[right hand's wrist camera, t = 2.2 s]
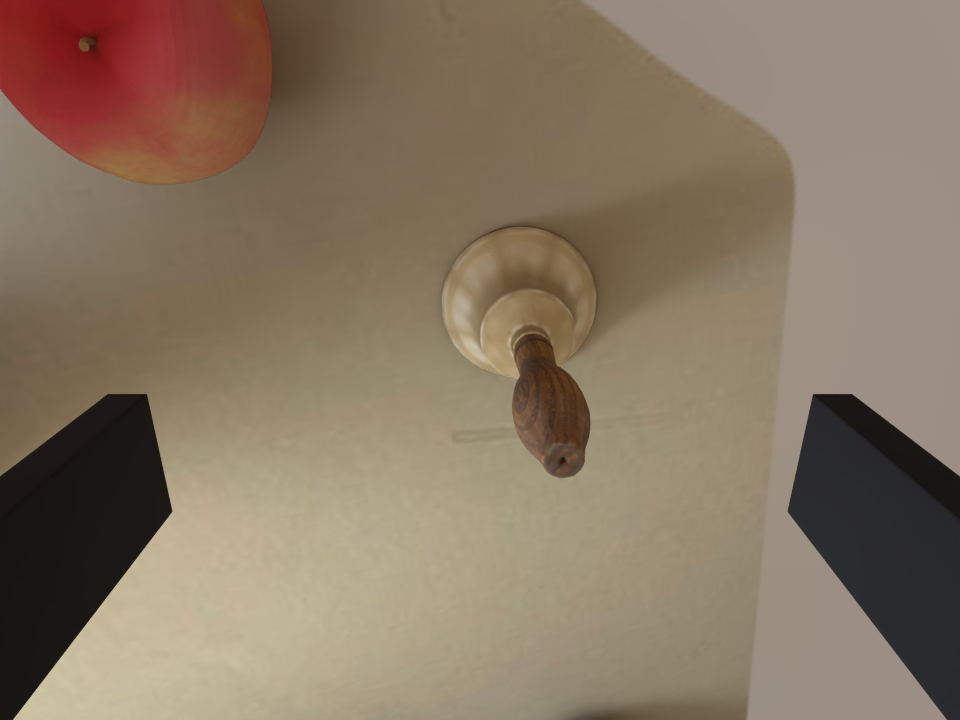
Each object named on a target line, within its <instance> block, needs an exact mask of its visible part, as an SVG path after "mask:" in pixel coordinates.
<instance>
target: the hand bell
mask: <svg viewBox="0 0 960 720" xmlns="http://www.w3.org/2000/svg"><path fill="white" fill-rule="evenodd" d="M596 306H597V293H596V287H595V282H594V278H593V275H592V272H591V270H590V268H589V266H588V264H587V262H586V261H585V259H584V258H583V257H582V255H581V254H580V253H579V252H578V251H577V250H576V249H575V248H574V247H573V246H572V245H571V244H570V243H569V242H567V241H566V240H564V239H563V238H561V237H559V236H557V235H555V234H553V233H551V232H548V231H546V230H542V229H538V228H532V227H510V228H504V229H501V230H497V231H494V232H491V233H489V234H487V235H485V236H483V237H481V238H479V239H478V240H476V241H475V242H473V243H472V244H471V245H469V246H468V247H467V248H466V249H465V250H464V251H463V252H462V253H461V254H460V255H459V256H458V258H457V259H456V261H455V262H454V264H453V265H452V267H451V269H450V271H449V273H448V275H447V278H446V280H445V283H444V287H443V292H442V304H441V307H442V316H443V321H444V325H445V328H446V330H447V333H448V335H449V337H450V339H451V341H452V342H453V344H454V345H455V347H456V348H457V349H458V350H459V352H460V353H461V354H462V355H463V356H464V357H465V358H466V359H468V360H469V361H470V362H472V363H473V364H474V365H476V366H478V367H479V368H481V369H483V370H485V371H488V372H490V373H494V374H497V375H502V376H508V377H511V378H515V379H518V381H517V383H516V386H515V389H514V394H513V403H512V412H513V419H514V424H515V427H516V431H517V433H518V435H519V437H520V439H521V441H522V443H523V444H524V446H525V447H526V448H527V450H528V451H529V452H530V453H531V454H532V455H533V456H534V457H535V458H536V459H538V460H539V461H540V462H541V464H542V465H543V467H544V469H545V470H546V471H547V472H548V473H549V474H551V475H552V476H554V477H557V478H566V477H571V476H574V475H575V474H577V473H578V472H579V471H580V470H581V469H582V467H583V465H584V462H585V448H586V445H587V442H588V438H589V433H590V413H589V409H588V406H587V403H586V400H585V398H584V395H583V393H582V391H581V390H580V388H579V386H578V385H577V383H576V382H575V380H574V379H573V378H572V377H571V376H570V375H569V374H568V373H567V372H566V371H565V370H563V369H562V368H560V367H561V366H562V365H563V364H564V362H565V361H566V360H567V359H569V358H570V357H571V356H572V355H573V354H574V353H575V352H576V351H577V350H578V349H579V347H580V346H581V345H582V344H583V342H584V341H585V339H586V337H587V336H588V334H589V332H590V330H591V327H592V324H593V321H594V318H595V314H596Z"/></svg>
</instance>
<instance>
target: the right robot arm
mask: <svg viewBox="0 0 960 720" xmlns="http://www.w3.org/2000/svg"><path fill="white" fill-rule="evenodd" d="M171 513H172V507H171V503H170V498H169V494H168V489H167V484H166V480H165V475H164V471H163V466H162V461H161V457H160V452H159V448H158V443H157V438H156V434H155V429H154V425H153V420H152V416H151V411H150V406H149V402H148V397H147V394H108V395H106V396H105V397H104V398H102V399H101V400H100V401H98V402H97V403H96V404H94V405H93V406H92V407H91V408H89V409H88V410H87V411H85V412H84V413H83V414H81V415H80V416H79V417H77V418H76V419H75V420H74V421H72V422H71V423H70V424H68V425H67V426H66V427H64V428H63V429H62V430H60V431H59V432H58V433H57V434H55V435H54V436H53V437H51V438H50V439H49V440H47V441H46V442H45V443H43V444H42V445H41V446H39V447H38V448H37V449H36V450H34V451H33V452H32V453H30V454H29V455H28V456H26V457H25V458H24V459H22V460H21V461H20V462H19V463H17V464H16V465H15V466H13V467H12V468H11V469H9V470H8V471H7V472H5V473H4V474H3V475H2V476H0V720H13V719H14V718H15V716H16V715H17V714H18V712H19V711H20V710H21V709H22V707H23V706H24V705H25V703H26V702H27V701H28V699H29V698H30V697H31V695H32V694H33V693H34V692H35V690H36V689H37V688H38V686H39V685H40V684H41V682H42V681H43V680H44V679H45V677H46V676H47V675H48V673H49V672H50V671H51V669H52V668H53V667H54V665H55V664H56V663H57V662H58V660H59V659H60V658H61V656H62V655H63V654H64V652H65V651H66V650H67V649H68V647H69V646H70V645H71V643H72V642H73V641H74V639H75V638H76V637H77V635H78V634H79V633H80V632H81V630H82V629H83V628H84V626H85V625H86V624H87V622H88V621H89V620H90V618H91V617H92V616H93V615H94V613H95V612H96V611H97V609H98V608H99V607H100V605H101V604H102V603H103V602H104V600H105V599H106V598H107V596H108V595H109V594H110V592H111V591H112V590H113V588H114V587H115V586H116V585H117V583H118V582H119V581H120V579H121V578H122V577H123V575H124V574H125V573H126V571H127V570H128V569H129V568H130V566H131V565H132V564H133V562H134V561H135V560H136V558H137V557H138V556H139V555H140V553H141V552H142V551H143V549H144V548H145V547H146V545H147V544H148V543H149V541H150V540H151V539H152V538H153V536H154V535H155V534H156V532H157V531H158V530H159V528H160V527H161V526H162V524H163V523H164V522H165V521H166V519H167V518H168V517H169V515H170V514H171ZM788 513H789V514H790V515H791V517H792V518H793V519H794V521H795V522H796V523H797V524H798V526H799V527H800V528H801V530H802V531H803V532H804V534H805V535H806V536H807V538H808V539H809V540H810V541H811V543H812V544H813V545H814V547H815V548H816V549H817V551H818V552H819V553H820V554H821V556H822V557H823V558H824V560H825V561H826V562H827V564H828V565H829V566H830V568H831V569H832V570H833V571H834V573H835V574H836V575H837V577H838V578H839V579H840V581H841V582H842V583H843V585H844V586H845V587H846V588H847V590H848V591H849V592H850V594H851V595H852V596H853V598H854V599H855V600H856V602H857V603H858V604H859V605H860V607H861V608H862V609H863V611H864V612H865V613H866V615H867V616H868V617H869V618H870V620H871V621H872V622H873V624H874V625H875V626H876V628H877V629H878V630H879V632H880V633H881V634H882V635H883V637H884V638H885V639H886V641H887V642H888V643H889V645H890V646H891V647H892V648H893V650H894V651H895V652H896V654H897V655H898V656H899V658H900V659H901V660H902V662H903V663H904V664H905V665H906V667H907V668H908V669H909V671H910V672H911V673H912V675H913V676H914V677H915V679H916V680H917V681H918V682H919V684H920V685H921V686H922V688H923V689H924V690H925V692H926V693H927V694H928V695H929V697H930V698H931V699H932V701H933V702H934V703H935V705H936V706H937V707H938V709H939V710H940V711H941V712H942V714H943V715H944V716H945V718H946V719H947V720H960V476H958V475H957V474H956V473H955V472H953V471H952V470H951V469H949V468H948V467H947V466H945V465H944V464H943V463H941V462H940V461H939V460H938V459H936V458H935V457H933V456H932V455H931V454H930V453H928V452H927V451H926V450H924V449H923V448H922V447H921V446H919V445H918V444H917V443H915V442H914V441H913V440H911V439H910V438H909V437H907V436H906V435H905V434H903V433H902V432H901V431H899V430H898V429H897V428H896V427H894V426H893V425H892V424H890V423H889V422H888V421H886V420H885V419H884V418H882V417H881V416H880V415H879V414H877V413H876V412H875V411H873V410H872V409H871V408H869V407H868V406H867V405H865V404H864V403H863V402H862V401H860V400H859V399H858V398H856V397H855V396H854V395H852V394H813V397H812V402H811V407H810V411H809V416H808V420H807V425H806V429H805V434H804V439H803V443H802V448H801V452H800V457H799V461H798V466H797V471H796V475H795V480H794V485H793V489H792V494H791V498H790V503H789V507H788Z"/></svg>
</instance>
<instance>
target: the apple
mask: <svg viewBox="0 0 960 720" xmlns="http://www.w3.org/2000/svg"><path fill="white" fill-rule="evenodd" d="M272 70H273V65H272V46H271V37H270V30H269V25H268V21H267V16H266V13H265V9H264V6H263V3H262V0H0V89H1V91H2V92H3V93H4V94H5V96H6V97H7V98H8V99H9V100H10V102H11V103H12V104H13V105H14V106H15V107H16V109H17V110H18V111H19V112H20V113H21V114H22V115H23V116H24V117H25V118H26V119H27V120H28V121H29V122H30V123H31V124H32V125H33V126H34V127H35V128H36V129H37V130H38V131H39V132H41V133H42V134H43V135H44V136H46V137H47V138H48V139H49V140H51V141H52V142H53V143H55V144H56V145H57V146H59V147H60V148H61V149H63V150H64V151H66V152H67V153H69V154H70V155H72V156H74V157H75V158H77V159H79V160H80V161H82V162H84V163H86V164H88V165H90V166H93V167H95V168H97V169H99V170H102V171H105V172H107V173H110V174H113V175H116V176H119V177H122V178H125V179H128V180H131V181H135V182H140V183H146V184H154V185H166V184H179V183H187V182H193V181H197V180H201V179H204V178H207V177H210V176H213V175H215V174H218V173H220V172H222V171H225V170H227V169H229V168H230V167H232V166H233V165H235V164H236V163H238V162H239V161H240V160H242V159H243V158H244V157H245V156H246V155H247V154H248V153H249V152H250V151H251V149H252V148H253V147H254V145H255V144H256V142H257V140H258V138H259V136H260V135H261V132H262V130H263V127H264V124H265V121H266V117H267V114H268V109H269V104H270V97H271V89H272Z"/></svg>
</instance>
